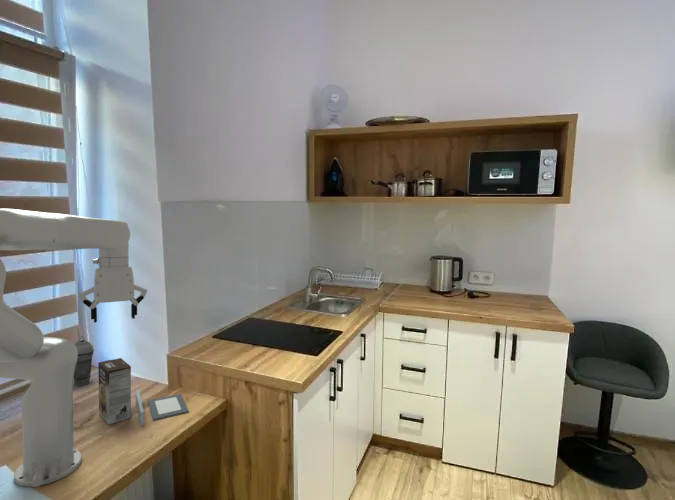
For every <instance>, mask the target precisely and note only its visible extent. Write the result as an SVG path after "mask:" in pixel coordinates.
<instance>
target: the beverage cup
mask: <svg viewBox="0 0 675 500" xmlns="http://www.w3.org/2000/svg"><path fill="white" fill-rule="evenodd" d="M76 331H77V338H78V339H77V341H76V342H74V343H73V344H74V345H75V346H76V348H77V352H78V356H77V362H76V367H75V372H74V378H73V386H75V387H83V386H86V384H87V385H89V384H90V380H91V373H92V364H93V363H92V360H93V355H94V351H95V350H94V346H93V344H92V343H91V342H90V341H89V340H84V339H83V340H82V339H81V335H80V328H76ZM88 383H89V384H88Z"/></svg>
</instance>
